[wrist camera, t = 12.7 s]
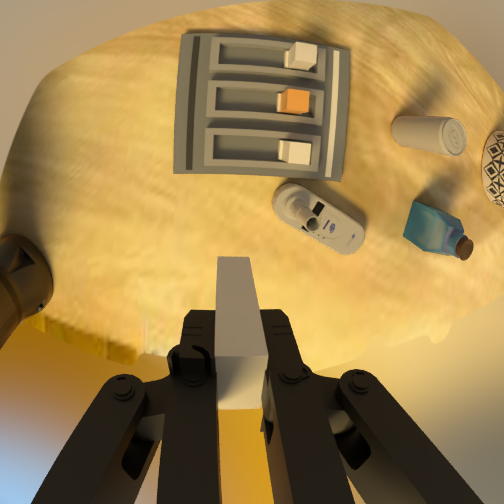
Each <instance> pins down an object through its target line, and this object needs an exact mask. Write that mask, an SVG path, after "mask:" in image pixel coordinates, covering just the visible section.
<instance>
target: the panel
mask: <svg viewBox="0 0 504 504" xmlns="http://www.w3.org/2000/svg"><path fill="white" fill-rule="evenodd" d="M295 42H301V43H307V44H312V45H317V58H316V64H315V65H313V66H312V67H311V68H309V71H308V72H304V71H298V70H291V69H283V67H284V52H285V51H289V50H290V48H291V47H292V46H293V45H294V43H295ZM349 73H350V51H347V50H343V49H339V48H335V47H331V46H326V45H322V44H317V43H312V42H306V41H300V40H294V39H287V38H280V37H272V36H262V35H250V34H231V33H193V34H182V36H181V44H180V54H179V64H178V75H177V88H176V104H175V124H174V165H173V174H237V175H260V176H278V177H293V178H305V179H317V180H327V181H337V182H341V176H342V167H343V158H344V148H345V138H346V126H347V113H348V96H349ZM287 89H295V90H303V91H309V92H310V93H309V109H308V112H306V113H302V114H301V115H296V114H287V113H278V112H276V103H277V94H278V93H280V94H281V93H282V92H284V91H285V90H287ZM279 140H281V141H292V142H302V143H309V144H311V151H310V162H309V165H305V164H294V163H287V162H285V161H283V160H279V159H277V157H278V144H279Z"/></svg>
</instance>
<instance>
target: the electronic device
mask: <svg viewBox="0 0 504 504" xmlns="http://www.w3.org/2000/svg"><path fill="white" fill-rule="evenodd" d="M272 207H273V210H274V212H275V214H276V215H277V217H278V218H279V219H280V220H281V221H282V222H284V223H285V224H287V225H289V226H291V227H293V228H295V229H296V230H298V231H300V232H302V233H304V234H305V235H307V236H309V237H311V238H313V239H314V240H316V241H318V242H320V243H322V244H323V245H325V246H327V247H329V248H330V249H332V250H334V251H336V252H338V253H339V254H342V255H350V254H353V253H355V252H356V251H357V250H359V248H360V247H361V246H362V244H363V242H364V239H365V232H364V229H363V227H362V225H361V224H360V223H358V222H357V221H356V220H354V219H353V218H351V217H350V216H348V215H347V214H345V213H344V212H342V211H341V210H339V209H338V208H336V207H335V206H333V205H331V204H330V203H328V202H327V201H325V200H324V199H322V198H321V197H319V196H317V195H316V194H314V193H313V192H311V191H309V190H308V189H306V188H304V187H303V186H301V185H298V184H296V183H288V184H285V185H282V186H281V187H280V188H279V189H277V190H276V192H275V194H274V195H273V199H272Z"/></svg>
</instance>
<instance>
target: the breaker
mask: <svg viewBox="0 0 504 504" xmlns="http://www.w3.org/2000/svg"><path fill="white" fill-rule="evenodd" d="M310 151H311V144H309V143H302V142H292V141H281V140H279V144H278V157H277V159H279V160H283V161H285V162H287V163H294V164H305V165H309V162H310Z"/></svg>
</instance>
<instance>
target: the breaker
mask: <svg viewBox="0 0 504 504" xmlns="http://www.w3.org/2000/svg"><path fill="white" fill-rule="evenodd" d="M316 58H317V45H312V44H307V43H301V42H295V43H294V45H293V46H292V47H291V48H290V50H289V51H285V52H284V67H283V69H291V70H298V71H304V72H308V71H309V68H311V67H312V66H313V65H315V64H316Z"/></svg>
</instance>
